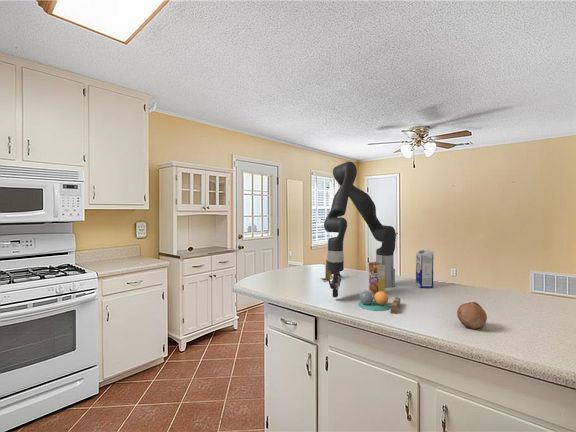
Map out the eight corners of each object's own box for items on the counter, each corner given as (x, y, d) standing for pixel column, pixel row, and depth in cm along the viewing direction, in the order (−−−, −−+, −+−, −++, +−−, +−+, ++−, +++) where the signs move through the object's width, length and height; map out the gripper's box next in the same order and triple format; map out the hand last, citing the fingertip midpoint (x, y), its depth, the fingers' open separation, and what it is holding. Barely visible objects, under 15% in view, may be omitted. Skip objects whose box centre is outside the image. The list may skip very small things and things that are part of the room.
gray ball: (374, 297, 146) (361, 291, 148) (376, 292, 141) (363, 286, 143) (369, 309, 143) (356, 302, 145) (371, 304, 138) (358, 298, 140)
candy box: (368, 291, 165) (368, 261, 165) (375, 290, 167) (375, 261, 166) (377, 296, 157) (378, 265, 156) (385, 295, 158) (385, 264, 158)
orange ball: (389, 299, 145) (376, 293, 148) (390, 292, 141) (377, 286, 143) (384, 309, 142) (371, 304, 144) (385, 303, 137) (372, 297, 140)
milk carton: (433, 288, 171) (433, 251, 171) (420, 288, 171) (421, 251, 171) (427, 285, 178) (428, 249, 178) (415, 284, 179) (416, 249, 178)
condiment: (337, 281, 188) (337, 260, 187) (323, 281, 187) (323, 261, 186) (334, 278, 195) (334, 258, 195) (320, 278, 194) (320, 259, 193)
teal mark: (380, 299, 150) (380, 299, 150) (397, 309, 136) (397, 308, 136) (352, 302, 147) (352, 301, 147) (367, 311, 133) (367, 311, 133)
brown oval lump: (473, 332, 120) (479, 306, 122) (489, 335, 110) (495, 307, 113) (449, 322, 120) (455, 296, 122) (463, 324, 111) (469, 297, 113)
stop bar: (395, 303, 144) (395, 297, 144) (400, 304, 143) (400, 297, 143) (390, 313, 132) (390, 305, 132) (395, 313, 131) (395, 306, 131)
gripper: (332, 257, 157) (332, 292, 157) (322, 261, 145) (322, 299, 145) (347, 258, 153) (347, 294, 154) (338, 263, 141) (338, 301, 142)
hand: (335, 297), depth 150 cm, fingers closed
